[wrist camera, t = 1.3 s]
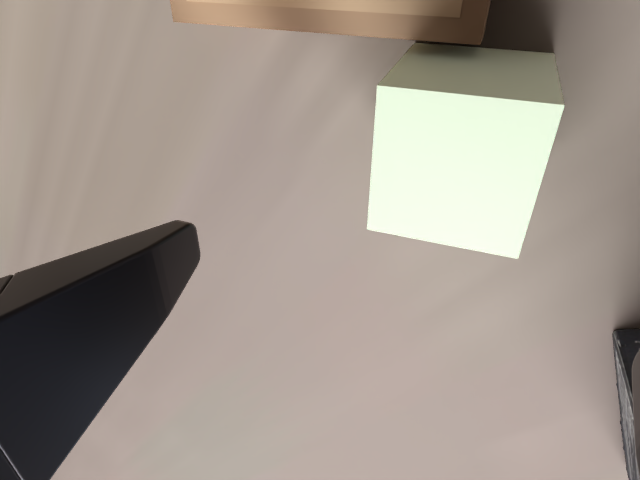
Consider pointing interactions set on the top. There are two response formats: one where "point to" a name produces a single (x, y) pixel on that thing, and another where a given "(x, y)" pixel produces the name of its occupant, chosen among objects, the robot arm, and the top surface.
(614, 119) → the top surface
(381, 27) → the base board
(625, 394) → the small box
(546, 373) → the top surface
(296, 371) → the top surface
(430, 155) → the block
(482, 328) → the top surface
